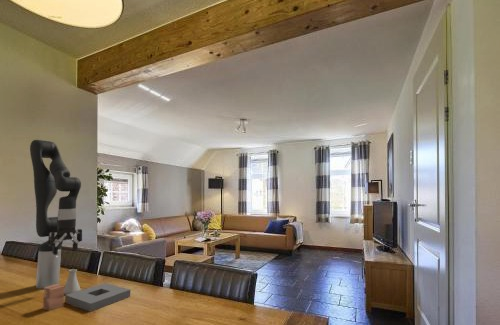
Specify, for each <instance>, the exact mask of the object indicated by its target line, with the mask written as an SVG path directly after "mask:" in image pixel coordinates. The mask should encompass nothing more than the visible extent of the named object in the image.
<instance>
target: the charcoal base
mask: <svg viewBox="0 0 500 325" xmlns="http://www.w3.org/2000/svg"><path fill="white" fill-rule="evenodd" d="M130 297H131V289H130V288H126V287H123V286H122V287H121V286H118V285H115V284H111V283H107V282H103V283H100V284H98V285H93V286H91V287H87V288H85V289H81V290H80V291H77V292H74V293H71V294H66V295H65V294H64V303H65V304H69V305H70V306H74V307H76V308H79V309H82V310H85V311H87V312H91V313H92V312H94V311H96V310H99V309H101V308H104V307H107V306H109V305H111V304H115V303H117V302H120V301H122V300H125V299H127V298H130Z"/></svg>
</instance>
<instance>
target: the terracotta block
mask: <svg viewBox="0 0 500 325" xmlns="http://www.w3.org/2000/svg"><path fill="white" fill-rule="evenodd" d="M64 287H65V285H62V284H60V283H59V284H56V285H52V286H49V287H45V288H43V289H44V291H43V302H42V303H43V304H42V308H43V309H44V310H46V311H48V312H51V311H54V310H57V309H60V308H63V307H64V303H65V294H64Z"/></svg>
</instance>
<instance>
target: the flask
mask: <svg viewBox="0 0 500 325" xmlns="http://www.w3.org/2000/svg"><path fill="white" fill-rule="evenodd" d="M77 271H78V269H75V268H72V269H69V270H68V277H67V281H66V282H65V285H64V286H65V287H64V296H65V295H67V294H71V293H74V292H77V291H80V290H82V288H81V287H80V284H79V281H78V277H77Z"/></svg>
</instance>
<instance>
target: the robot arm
mask: <svg viewBox="0 0 500 325" xmlns="http://www.w3.org/2000/svg"><path fill="white" fill-rule="evenodd" d="M29 153H30V158H31V159H30V160H31V163H32V170H33V184H34V185H33V186H34V196H35V208H36V211H35V213H36V215H35V217H36V218H35V229H36V234H37V236H38V237H40V238H44V237H48V240H47V241H45V242H42V243H41V244H40V245H39V246H38V254H37V267H36V268H37V269H36V278H35V279H36V280H35V288H36V289H38V290H40V289H44V288H45V287H49V286H52V285H56V284H60V271H61V258H62V257H61V255H62V246H63V244H64V243H63V242H64V241H68V240H70V241H71V242H72V252H77V251H78V247H79V246H78V245H79V243H80V242H83V229H81V228H77V229H76V226H77V225H76V224H77V199H78V197H79V196H78V195H79V193H80V190H81V188H82V181H81V179H80V178H79V177H77V176H76V177H73V176H71V172H70V170H69V168H68V167H67V166H66V165H65V163H64V161H63V159H62V156H61V152H60V150H59V148H58V146H57V144H56V143H55V142H53V141H49V140H41V139H34V140H32V141H31V143H30V144H29ZM43 159H51V162H50V163H49V168H48V167H47V166H46V165H45V163H44V160H43ZM57 191H59V192H61V193H62V192H69V193H68V195H65V196H62V197H59V198H58V209H57V210H58V211H57V216H51V217H50V216H49V217H48V209H49V206H50V204H51V203H52V201H53V200H54V198H55V196H56V195H57ZM75 234H76V235H75Z"/></svg>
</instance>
